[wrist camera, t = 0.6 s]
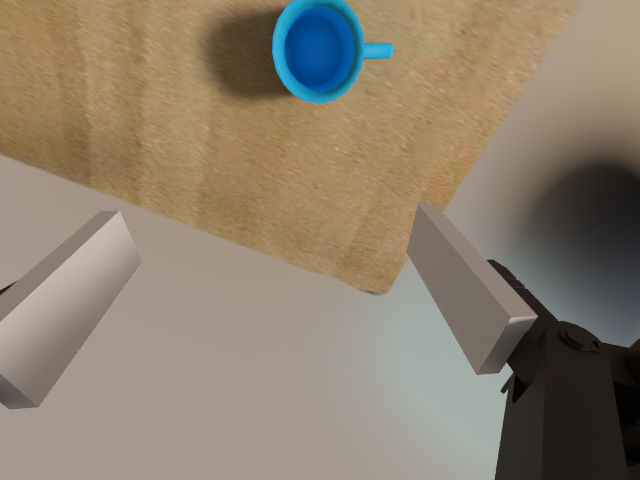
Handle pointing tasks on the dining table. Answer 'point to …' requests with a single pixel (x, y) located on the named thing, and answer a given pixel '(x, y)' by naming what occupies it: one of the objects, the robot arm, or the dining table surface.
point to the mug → (321, 49)
